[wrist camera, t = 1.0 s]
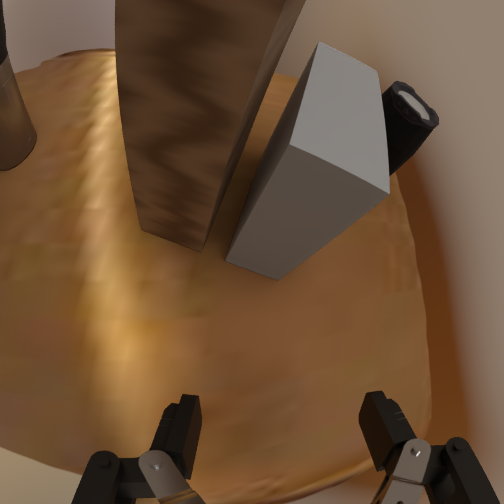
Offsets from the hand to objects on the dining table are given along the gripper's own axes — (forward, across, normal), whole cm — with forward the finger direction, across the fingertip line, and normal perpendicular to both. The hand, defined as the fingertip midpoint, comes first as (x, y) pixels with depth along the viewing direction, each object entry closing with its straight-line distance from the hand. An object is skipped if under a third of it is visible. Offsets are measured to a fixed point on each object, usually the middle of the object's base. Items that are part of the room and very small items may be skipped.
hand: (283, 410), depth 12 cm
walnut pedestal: (+28, +9, -10) cm, 31 cm away
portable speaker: (+37, -14, -12) cm, 41 cm away
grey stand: (+29, 0, -7) cm, 29 cm away
